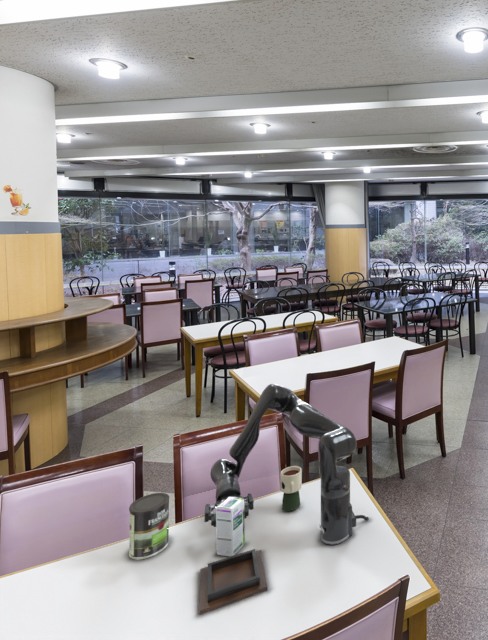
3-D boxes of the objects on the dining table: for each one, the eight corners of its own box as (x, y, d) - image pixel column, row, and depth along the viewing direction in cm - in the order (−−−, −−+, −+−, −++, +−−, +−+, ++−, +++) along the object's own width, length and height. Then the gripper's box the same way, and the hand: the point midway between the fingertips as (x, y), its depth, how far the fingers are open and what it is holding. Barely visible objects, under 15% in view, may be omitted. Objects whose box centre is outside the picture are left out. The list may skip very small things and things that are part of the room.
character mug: (279, 501, 156) (280, 465, 156) (300, 497, 159) (300, 461, 159) (281, 519, 146) (281, 480, 146) (302, 514, 149) (302, 476, 149)
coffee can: (176, 540, 136) (177, 495, 136) (145, 563, 126) (145, 515, 126) (153, 533, 139) (153, 489, 139) (120, 555, 129) (120, 508, 129)
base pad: (260, 553, 130) (260, 543, 130) (267, 590, 116) (267, 579, 116) (200, 572, 123) (200, 561, 123) (199, 614, 108) (199, 602, 109)
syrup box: (232, 557, 128) (232, 508, 128) (215, 554, 129) (215, 506, 130) (245, 544, 134) (245, 497, 134) (228, 542, 135) (228, 495, 135)
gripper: (204, 488, 144) (204, 514, 130) (250, 476, 151) (255, 500, 137) (204, 510, 144) (204, 539, 130) (250, 498, 151) (255, 524, 137)
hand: (230, 519), depth 134 cm, fingers open, 8 cm apart
